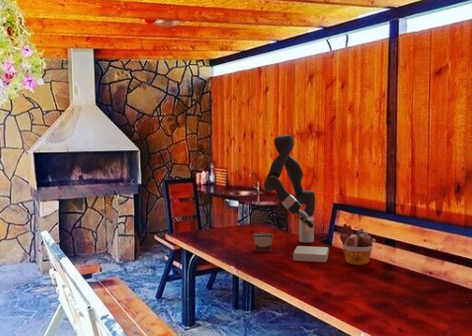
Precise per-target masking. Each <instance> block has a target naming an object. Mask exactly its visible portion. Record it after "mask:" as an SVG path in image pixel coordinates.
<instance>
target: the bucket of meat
mask: <svg viewBox="0 0 472 336" xmlns="http://www.w3.org/2000/svg"><path fill="white" fill-rule="evenodd" d="M342 226H343V228H340V229H339V232H340V236H339V239H340V241H341V243H342V249H343V253H344V258H345V261H346V263H347V264H350V265H353V266H365V265H367V264H368V263H369V262H370V258H371V254H372V251H373V246H374V243H376V241H377V240H376V239H375V238H372V237H371V236H370V235H369V233H368V232H367V231H364V230H365V229H364V228H362V227H360V228H359V229H357V232H355V233H354V232H353V229H352V226H351V225H348V224H346V223H344V224H343V225H342Z"/></svg>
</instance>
